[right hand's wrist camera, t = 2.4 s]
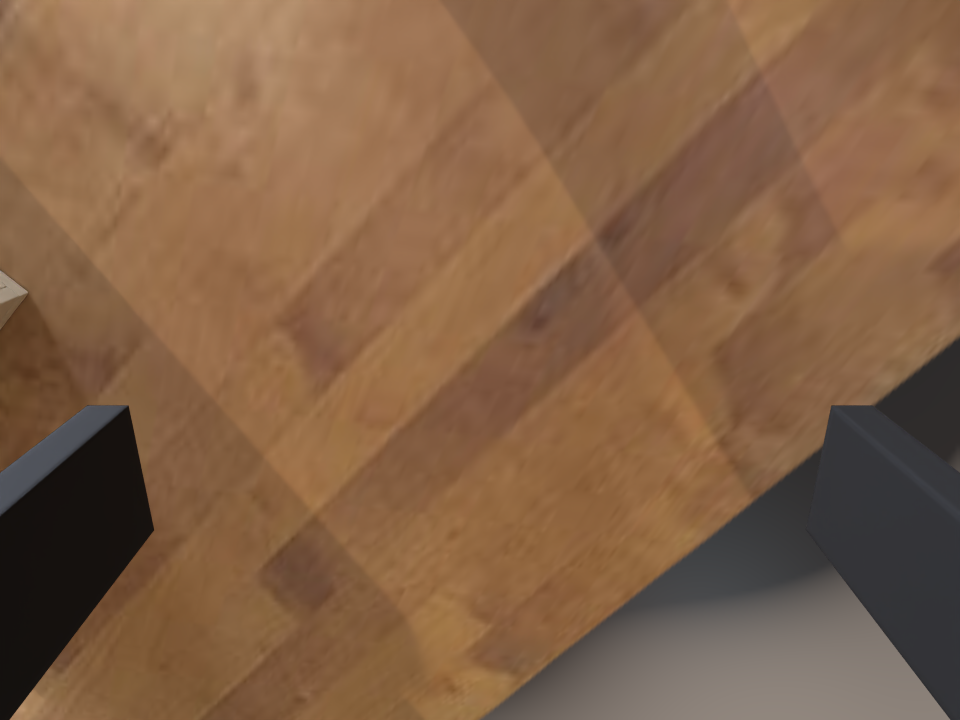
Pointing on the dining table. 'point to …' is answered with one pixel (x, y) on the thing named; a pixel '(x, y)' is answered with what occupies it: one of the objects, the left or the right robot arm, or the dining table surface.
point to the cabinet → (9, 297)
